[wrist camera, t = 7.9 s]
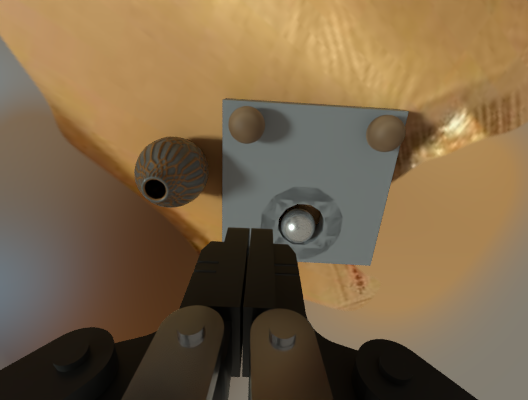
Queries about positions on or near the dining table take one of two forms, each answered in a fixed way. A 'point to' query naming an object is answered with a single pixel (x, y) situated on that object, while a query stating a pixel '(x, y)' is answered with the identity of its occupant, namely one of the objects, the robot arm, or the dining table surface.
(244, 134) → the walnut ball
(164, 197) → the vase
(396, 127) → the walnut ball
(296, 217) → the steel ball
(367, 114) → the hole plate
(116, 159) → the dining table surface
